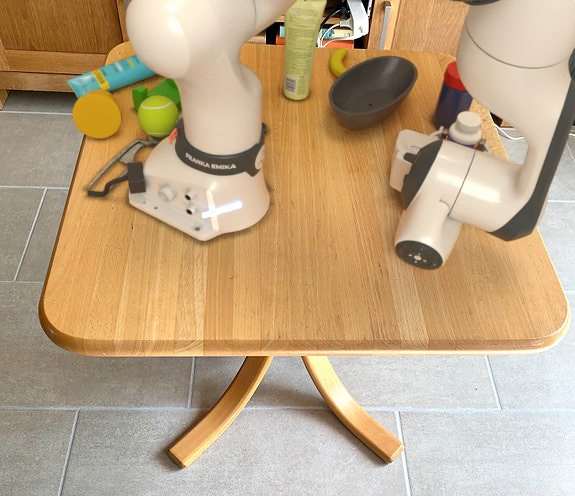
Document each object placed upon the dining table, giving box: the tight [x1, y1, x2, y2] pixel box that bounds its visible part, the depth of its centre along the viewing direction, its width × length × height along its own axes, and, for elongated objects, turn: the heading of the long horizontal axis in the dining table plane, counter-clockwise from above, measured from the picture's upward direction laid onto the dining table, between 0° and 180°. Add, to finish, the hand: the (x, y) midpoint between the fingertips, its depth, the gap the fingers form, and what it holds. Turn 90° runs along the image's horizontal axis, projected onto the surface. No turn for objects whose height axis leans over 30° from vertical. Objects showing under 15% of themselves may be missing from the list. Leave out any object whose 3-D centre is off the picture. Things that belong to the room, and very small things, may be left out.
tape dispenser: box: [131, 78, 182, 112], centre depth 114 cm, size 15×7×5 cm, turn 148°
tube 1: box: [66, 54, 159, 100], centre depth 117 cm, size 7×5×19 cm
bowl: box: [328, 55, 419, 132], centre depth 114 cm, size 12×22×6 cm, turn 140°
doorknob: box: [71, 89, 123, 140], centre depth 107 cm, size 8×8×8 cm
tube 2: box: [282, 0, 328, 101], centre depth 111 cm, size 6×5×20 cm
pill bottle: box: [445, 110, 483, 150], centre depth 104 cm, size 5×5×10 cm
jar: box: [431, 78, 474, 132], centre depth 111 cm, size 6×6×11 cm
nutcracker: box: [86, 135, 161, 191], centre depth 103 cm, size 16×1×5 cm
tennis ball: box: [137, 95, 180, 138], centre depth 105 cm, size 7×7×7 cm
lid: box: [443, 60, 467, 91], centre depth 108 cm, size 6×6×2 cm
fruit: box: [329, 47, 349, 78], centre depth 124 cm, size 10×2×5 cm
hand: (464, 136), depth 104 cm, fingers closed on pill bottle, 5 cm apart
